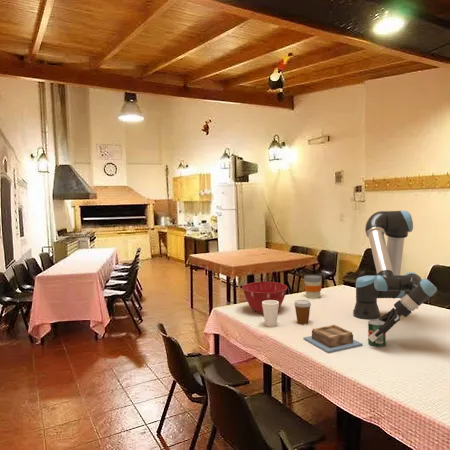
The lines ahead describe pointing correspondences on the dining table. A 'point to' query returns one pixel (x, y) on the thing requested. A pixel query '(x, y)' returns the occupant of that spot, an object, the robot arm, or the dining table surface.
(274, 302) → the foam cup
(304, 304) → the disposable coffee cup
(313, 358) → the dining table surface
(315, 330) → the walnut block
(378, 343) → the canned tomato
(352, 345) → the board
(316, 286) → the reusable coffee cup
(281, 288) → the mixing bowl
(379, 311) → the robot arm
